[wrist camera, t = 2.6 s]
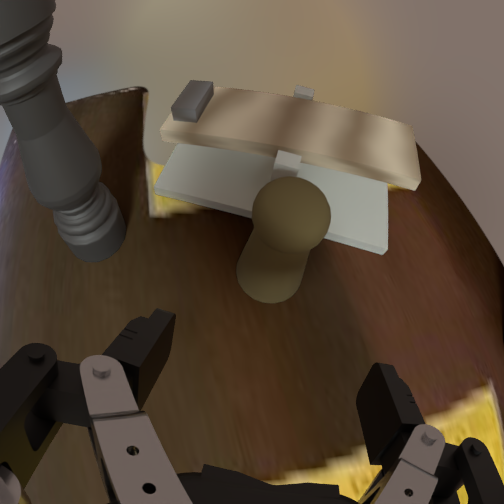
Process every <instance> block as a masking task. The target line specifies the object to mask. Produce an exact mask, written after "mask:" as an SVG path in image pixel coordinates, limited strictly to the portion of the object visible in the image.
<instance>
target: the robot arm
mask: <svg viewBox="0 0 504 504" xmlns="http://www.w3.org/2000/svg"><path fill="white" fill-rule="evenodd" d="M175 319H176V315H175V314H174V313H171V312H168V311H165V310H161V309H158V308H157V309H156V310H155V311H154V312H153V314H152V315H151V316H150V317H149V319H148V318H145V317H142V316H140V317H138V318H136V319H134V320H131V321H130V322H129V323H128V324H127V326H126V327H125V328H124V330H122V331H121V333H120V334H119V335H118V336H117V337H116V339H115V340H114V341H113V342H112V343H111V344H110V346H109V347H108V348H107V349H106V350H105V352H104V353H103V354H102V355H94V356H90V357H88V358H86V359H85V360H83V361H82V363H81V364H75V363H69V362H64V361H59V360H57V355H56V352H55V351H54V350H53V349H52V348H51V347H49V346H48V345H45V344H41V343H32V344H28V345H25V346H23V347H22V348H21V349H20V350H19V351H18V352H17V353H16V354H15V355H14V356H13V357H12V358H11V359H10V360H9V361H8V362H7V363H6V364H5V365H4V366H3V367H2V368H1V369H0V504H31V501H30V498H29V497H28V495H27V493H26V492H25V490H24V488H25V487H26V485H27V483H28V481H29V480H30V478H31V476H32V474H33V472H34V471H35V469H36V467H37V466H38V464H39V462H40V460H41V459H42V457H43V455H44V454H45V452H46V450H47V449H48V447H49V445H50V444H51V442H52V440H53V439H54V437H55V435H56V434H57V432H58V430H59V429H60V427H61V426H62V424H63V423H68V424H73V425H79V426H84V427H87V429H88V433H89V437H90V441H91V444H92V448H93V451H94V455H95V458H96V461H97V464H98V468H99V471H100V475H101V478H102V482H103V485H104V488H105V491H106V494H107V497H108V499H109V502H110V503H108V504H460V501H459V498H458V494H457V490H458V489H459V488H460V487H461V486H462V485H465V488H466V491H467V494H468V504H504V485H503V482H502V480H501V478H500V475H499V473H498V471H497V468H496V466H495V464H494V462H493V459H492V457H491V455H490V453H489V451H488V449H487V447H486V446H485V444H484V443H482V442H481V441H480V440H478V439H476V438H471V437H470V438H466V439H465V440H464V441H463V442H462V443H461V444H460V445H459V446H456V445H452V444H449V443H445V439H444V436H443V435H442V433H441V432H440V431H439V430H438V429H436V428H435V427H433V426H430V425H427V424H425V422H424V420H423V417H422V415H421V413H420V411H419V408H418V406H417V404H415V399H414V397H412V393H411V391H410V389H409V387H408V385H407V384H406V383H405V382H404V381H403V380H402V379H401V378H399V377H398V374H397V372H396V370H395V368H394V366H393V365H388V364H382V363H374V364H373V366H372V367H371V369H370V371H369V373H368V375H367V377H366V379H365V380H364V382H363V384H362V386H361V388H360V390H359V392H358V394H357V399H356V406H357V410H358V414H359V418H360V422H361V427H362V431H363V435H364V439H365V444H366V448H367V453H368V457H369V462H370V465H382V469H381V471H380V472H379V473H378V474H377V476H376V477H375V479H374V480H373V482H372V483H371V484H370V486H369V487H368V489H367V490H366V492H365V493H364V494H363V496H362V497H361V498H360V500H359V501H358V502H356V501H355V500H353V499H351V498H348V497H346V496H343V495H340V494H339V485H330V484H317V483H299V484H288V485H271V484H268V483H265V482H263V481H260V480H257V479H255V478H252V477H250V476H247V475H245V474H242V473H240V472H237V471H232V470H227V469H223V468H219V467H214V466H210V465H206V464H204V466H203V469H202V472H201V473H198V472H191V473H180V474H176V473H175V471H174V469H173V467H172V465H171V463H170V461H169V459H168V457H167V455H166V453H165V451H164V449H163V447H162V445H161V443H160V441H159V439H158V437H157V435H156V433H155V430H154V428H153V426H152V424H151V422H150V419H149V417H148V415H147V414H146V412H145V411H141V409H142V407H143V405H144V403H145V401H146V400H147V398H148V396H149V394H150V392H151V390H152V388H153V386H154V384H155V383H156V381H157V379H158V377H159V375H160V373H161V371H162V369H163V367H164V366H165V364H166V362H167V360H168V357H169V354H170V350H171V345H172V339H173V332H174V325H175Z"/></svg>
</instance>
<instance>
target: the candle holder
mask: <svg viewBox="0 0 504 504" xmlns="http://www.w3.org/2000/svg"><path fill="white" fill-rule="evenodd" d="M55 8H56V3H55V0H0V105H2V106H3V108H4V110H5V112H6V115H7V117H8V119H9V121H10V123H11V125H12V127H13V129H14V131H15V133H16V136H17V141H18V146H19V150H20V154H21V159H22V163H23V167H24V171H25V175H26V179H27V182H28V186H29V189H30V191H31V193H32V194H33V196H34V197H35V199H36V200H37V202H38V203H39V204H41V205H42V206H45V207H47V208H49V209H52V210H53V215H54V222H55V224H56V225H57V227H58V233H59V234H60V236H61V237H62V238H63V240H64V241H65V242H66V244H67V245H68V246H69V248H70V249H71V250H72V252H73V253H74V254H75V256H76V257H77V258H79V259H81V260H83V261H85V262H99V261H102V260H104V259H107V258H109V257H110V256H112V255H113V254H114V253H115V252H116V251H117V250H118V249H119V248H120V246H121V244H122V243H123V241H124V239H125V233H126V225H125V222H124V219H123V216H122V213H121V211H120V208H119V206H118V203H117V201H116V198H115V197H114V196H113V195H112V194H111V193H110V190H109V189H108V188H107V187H106V186H105V185H104V184H103V183H102V182H99V179H100V175H101V171H102V164H101V160H100V155H99V152H98V149H97V148H96V147H95V145H94V144H93V143H92V141H91V140H90V139H89V137H88V136H87V135H86V133H85V132H84V130H83V129H82V128H81V126H80V125H79V123H78V122H77V121H76V119H75V118H74V116H73V115H72V113H71V112H70V111H69V109H68V108H67V106H66V103H65V101H64V97H63V95H62V91H61V88H60V84H59V81H58V78H57V75H56V74H57V70H58V68H59V66H60V65H61V64H62V51H61V49H60V48H59V47H57V46H55V45H51V44H48V43H47V42H48V40H49V36H50V33H49V32H50V30H51V27H52V24H53V16H52V13H53V12H54V11H55Z"/></svg>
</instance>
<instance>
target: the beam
mask: <svg viewBox="0 0 504 504" xmlns="http://www.w3.org/2000/svg"><path fill="white" fill-rule="evenodd" d="M171 111H172V112H171V113H170V115H169V116H168V118H167V119H166V121H165V122H164V124H163V125H162V127H161V128H160V133H161V137H162V141H165V142H174V143H182V144H190V145H198V146H205V147H213V148H220V149H226V150H233V151H239V152H245V153H251V154H257V155H263V156H269V157H274V158H276V156H277V153H278V150H281V151H285V152H289V153H292V154H296V155H299V156H302V157H301V162H300V163H305V164H310V165H314V166H319V167H324V168H328V169H333V170H337V171H341V172H346V173H350V174H354V175H358V176H362V177H366V178H370V179H374V180H378V181H382V182H385V183H389V184H393V185H396V186H400V187H404V188H407V189H411V190H414V191H415V190H416V188H417V186H418V185H419V183H420V181H421V175H420V168H419V162H418V155H417V149H416V143H415V138H414V133H413V127H412V126H410V125H407V124H404V123H401V122H397V121H394V120H390V119H387V118H384V117H380V116H376V115H373V114H369V113H365V112H361V111H357V110H353V109H349V108H345V107H340V106H336V105H332V104H327V103H322V102H317V101H312V100H307V99H302V98H296V97H290V96H285V95H278V94H271V93H265V92H257V91H250V90H242V89H232V88H224V87H223V88H222V87H213V82H209V81H195V80H191V81H190V82H189V83H188V85H187V86H186V87H185V89H184V90H183V91H182V93H181V94H180V95H179V97H178V98H177V100H176V101H175V103H174V104H173V105H172V107H171Z"/></svg>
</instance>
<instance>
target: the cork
mask: <svg viewBox="0 0 504 504" xmlns="http://www.w3.org/2000/svg"><path fill="white" fill-rule="evenodd" d="M252 221H253V225H254V229H253V231H252V233H251V235H250V237H249V239H248V241H247V243H246V245H245V247H244V249H243V251H242V253H241V255H240V258H239V260H238V262H237V267H236V275H237V279H238V283H239V284H240V286H241V287H242V289H243V290H244V292H245V293H247V294H248V295H249V296H250V297H251V298H253V299H255V300H258V301H260V302H263V303H278V302H282V301H285V300H287V299H288V298H290V297H291V296H293V295H294V293H295V292H296V291H297V290H298V288H299V286H300V283H301V280H302V277H303V273H304V270H305V267H306V263H307V260H308V256H309V253H310V249H312V248H313V247H315V246H317V245H318V244H319V243H320V242H321V240H322V239H323V238H324V237H325V235H326V234H327V232H328V229H329V226H330V222H331V209H330V205H329V203H328V201H327V199H326V197H325V194H324V193H323V192H322V191H321V190H320V189H319V188H318V187H317V186H316V185H314V184H313V183H311V182H310V181H308V180H305V179H302V178H299V177H292V176H288V177H280V178H278V179H275V180H273V181H271V182H269V183H267V184H266V185H265V186H264V187H263V188H262V189H260V191H259V192H258V194H257V196H256V198H255V200H254V202H253V207H252Z"/></svg>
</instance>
